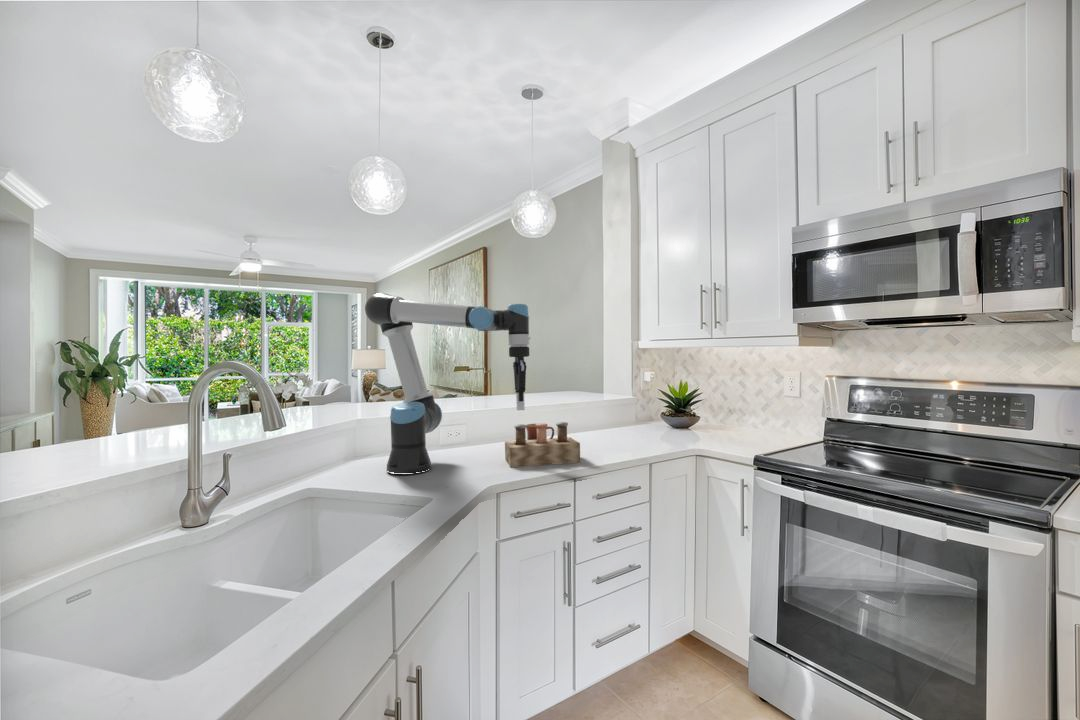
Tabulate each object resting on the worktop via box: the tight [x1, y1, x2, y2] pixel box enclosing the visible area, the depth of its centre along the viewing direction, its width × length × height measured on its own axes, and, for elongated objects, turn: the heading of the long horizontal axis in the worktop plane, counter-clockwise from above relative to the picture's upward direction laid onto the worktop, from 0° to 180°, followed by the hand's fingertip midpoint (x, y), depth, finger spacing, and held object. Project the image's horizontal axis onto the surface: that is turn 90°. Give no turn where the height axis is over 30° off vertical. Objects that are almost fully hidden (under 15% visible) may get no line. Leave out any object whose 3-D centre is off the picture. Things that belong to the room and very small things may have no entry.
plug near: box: [514, 423, 527, 445], centre depth 173 cm, size 4×4×9 cm
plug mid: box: [535, 422, 548, 444], centre depth 175 cm, size 4×4×9 cm
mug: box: [525, 423, 555, 440], centre depth 195 cm, size 12×9×10 cm
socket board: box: [504, 437, 581, 468], centre depth 175 cm, size 26×12×7 cm, turn 103°
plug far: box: [555, 421, 569, 443], centre depth 177 cm, size 4×4×9 cm
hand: (520, 409), depth 173 cm, fingers closed
